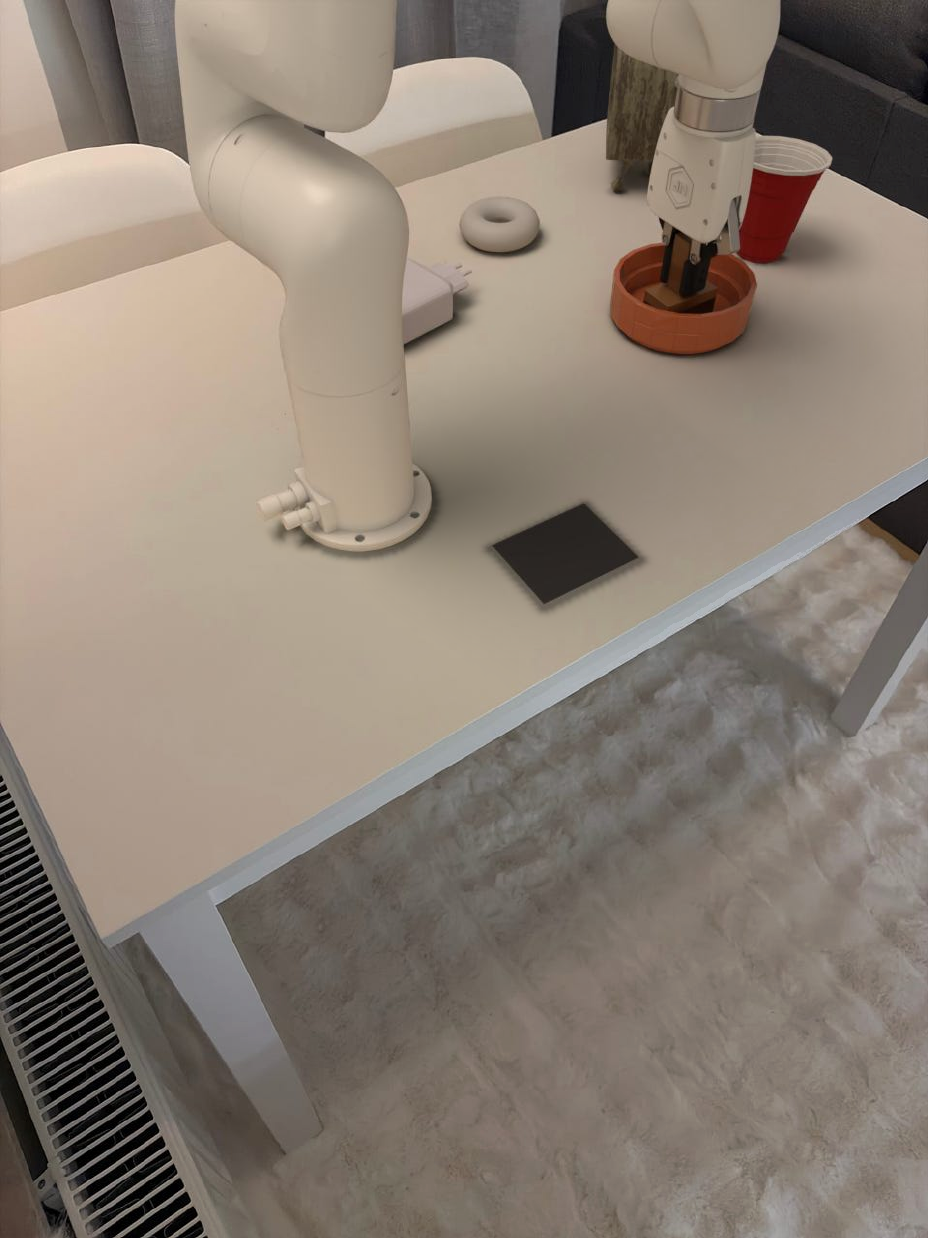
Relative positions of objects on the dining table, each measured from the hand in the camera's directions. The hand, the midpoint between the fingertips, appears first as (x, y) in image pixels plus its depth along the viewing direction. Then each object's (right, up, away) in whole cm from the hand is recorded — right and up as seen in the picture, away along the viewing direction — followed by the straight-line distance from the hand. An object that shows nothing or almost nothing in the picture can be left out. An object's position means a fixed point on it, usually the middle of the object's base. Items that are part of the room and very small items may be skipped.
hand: (682, 284), depth 99 cm
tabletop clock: (0, +24, +26) cm, 36 cm away
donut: (-19, +12, +16) cm, 28 cm away
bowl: (0, -2, +4) cm, 5 cm away
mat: (-15, -31, -19) cm, 39 cm away
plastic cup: (+13, +9, +13) cm, 20 cm away
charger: (-29, -1, +6) cm, 30 cm away
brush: (0, -2, +3) cm, 4 cm away
